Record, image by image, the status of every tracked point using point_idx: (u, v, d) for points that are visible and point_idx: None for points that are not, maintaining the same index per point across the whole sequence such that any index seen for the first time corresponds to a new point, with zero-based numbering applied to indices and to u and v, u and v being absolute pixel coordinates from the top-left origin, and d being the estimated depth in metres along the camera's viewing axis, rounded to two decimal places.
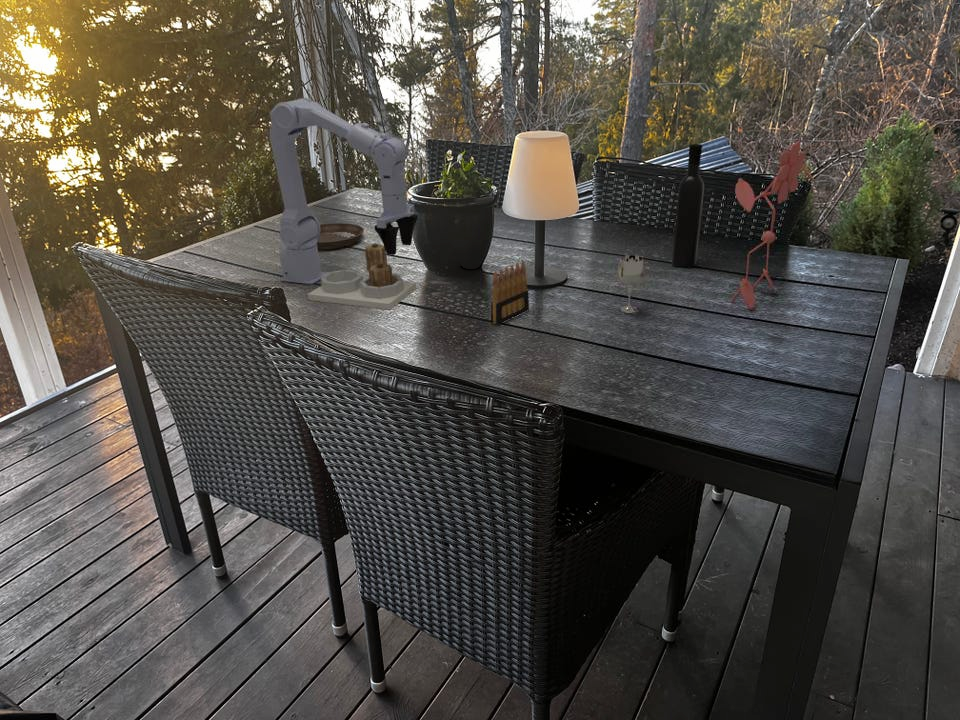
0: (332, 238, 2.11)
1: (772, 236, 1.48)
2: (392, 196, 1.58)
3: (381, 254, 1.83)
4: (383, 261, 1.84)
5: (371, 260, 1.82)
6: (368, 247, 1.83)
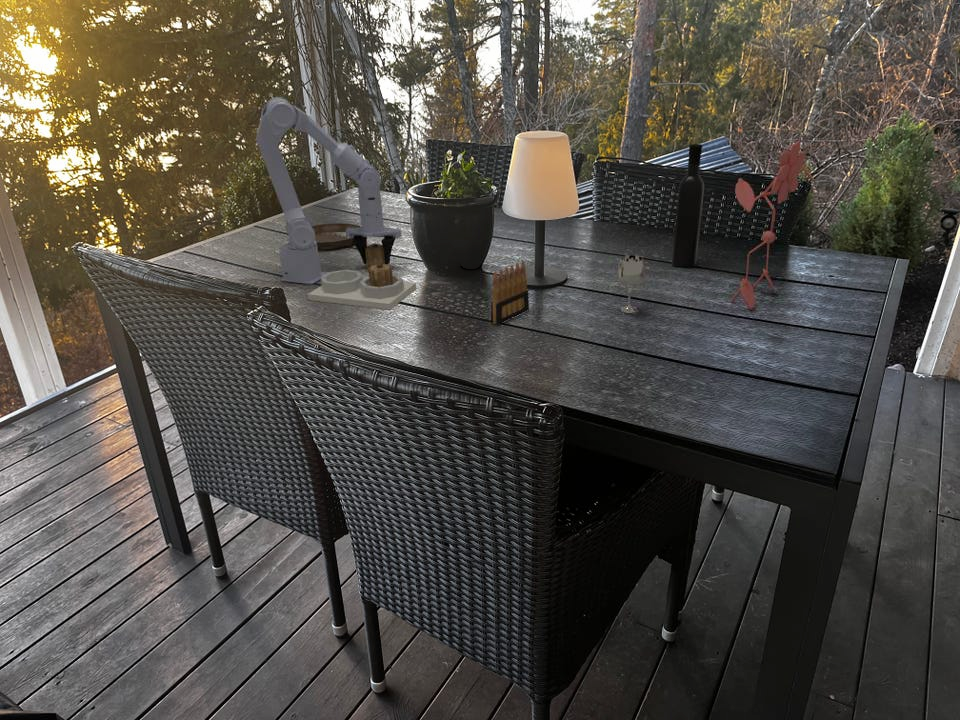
0: (332, 238, 2.11)
1: (772, 236, 1.48)
2: (360, 214, 1.79)
3: (381, 254, 1.83)
4: (383, 261, 1.84)
5: (371, 260, 1.82)
6: (368, 247, 1.83)
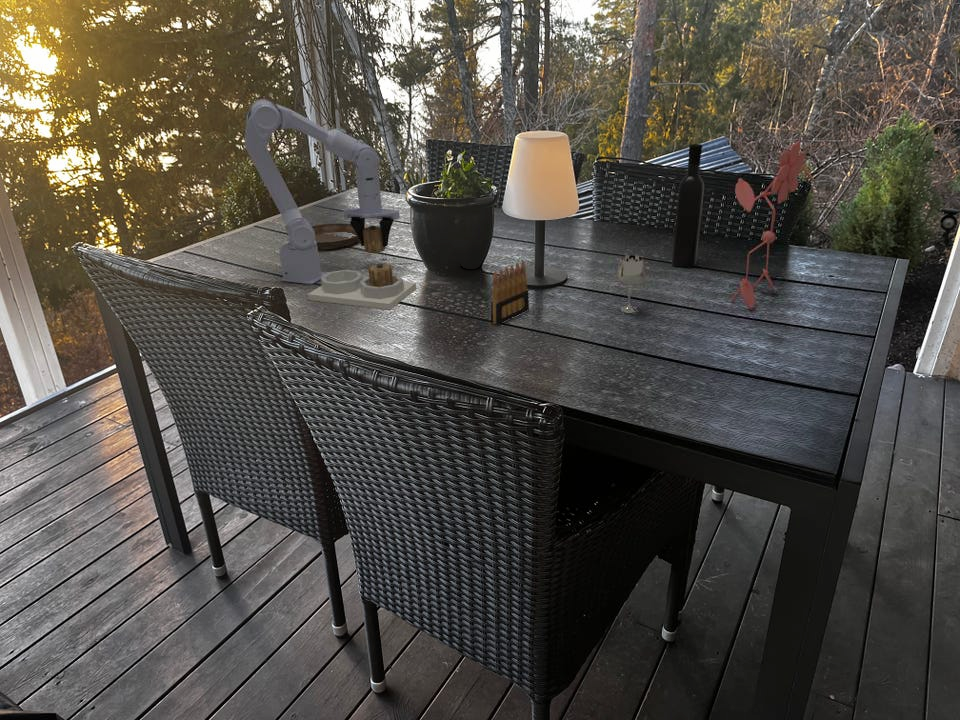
0: (332, 238, 2.11)
1: (772, 236, 1.48)
2: (358, 195, 1.76)
3: (379, 236, 1.80)
4: (381, 243, 1.81)
5: (369, 242, 1.80)
6: (366, 229, 1.80)
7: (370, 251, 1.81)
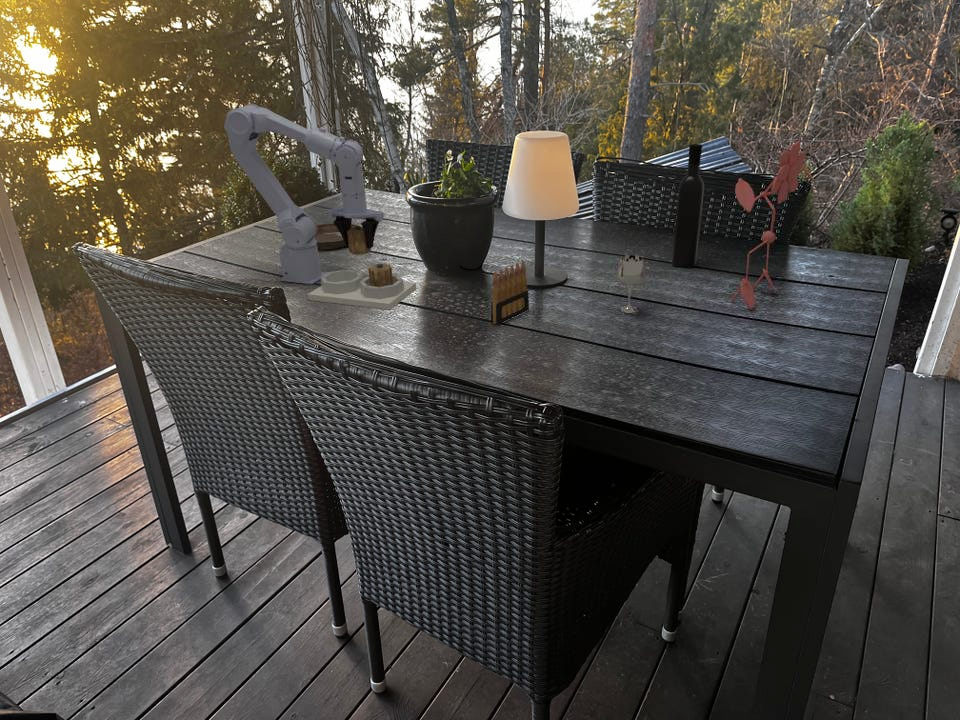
0: (332, 238, 2.11)
1: (772, 236, 1.48)
2: None
3: (363, 237, 1.73)
4: (365, 245, 1.74)
5: (352, 243, 1.73)
6: (350, 229, 1.73)
7: (353, 252, 1.74)
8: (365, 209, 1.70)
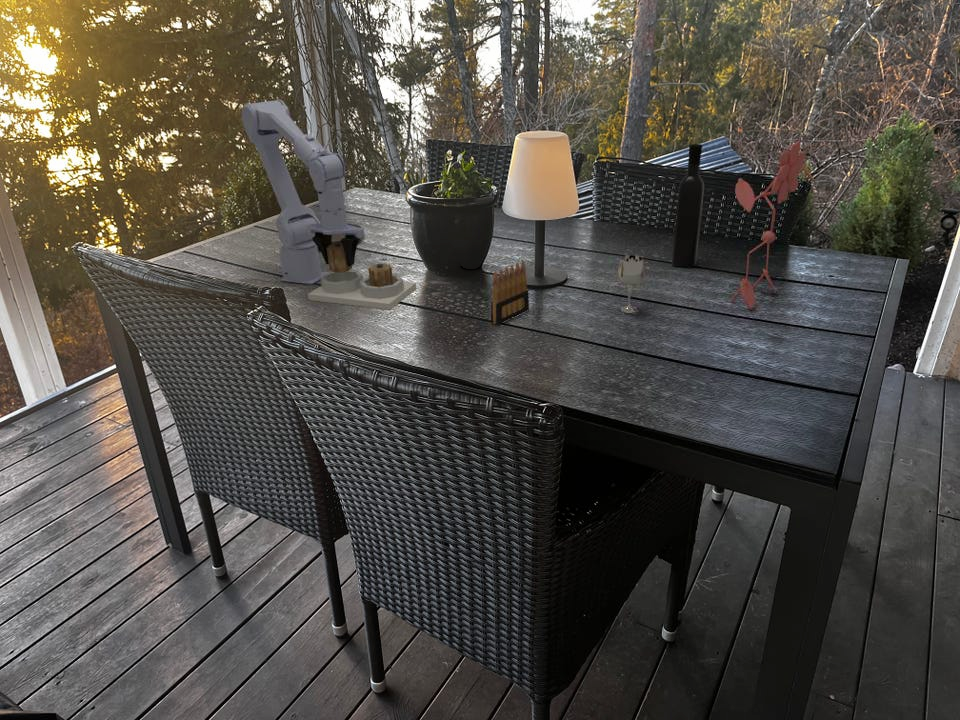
0: (332, 238, 2.11)
1: (772, 236, 1.48)
2: None
3: (343, 254, 1.65)
4: (345, 262, 1.66)
5: (331, 260, 1.65)
6: (330, 246, 1.65)
7: (333, 270, 1.66)
8: (345, 225, 1.62)
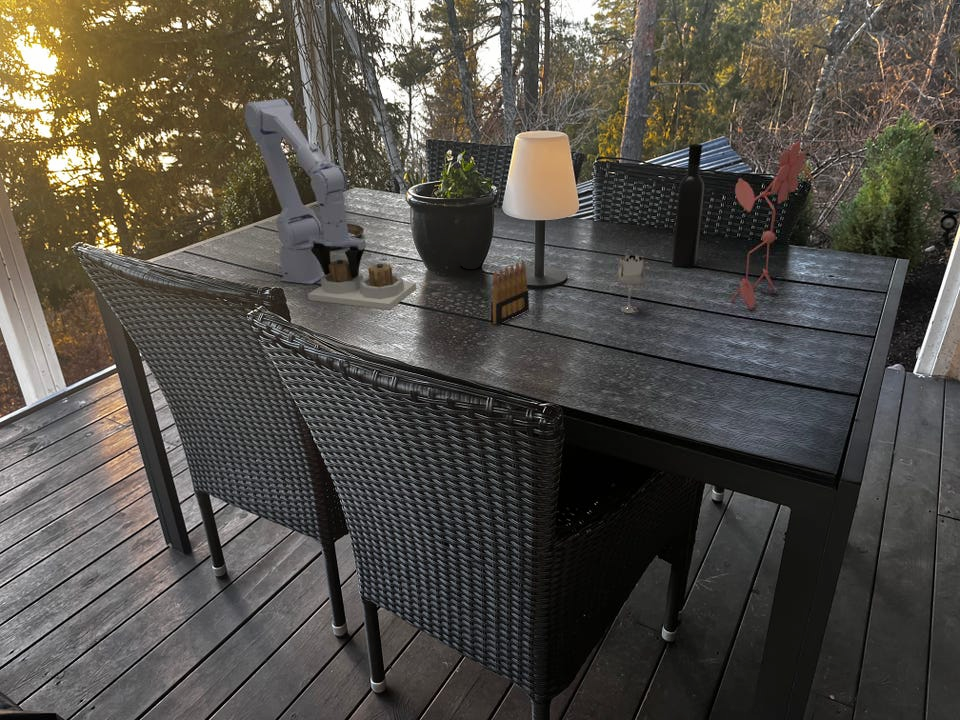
0: None
1: (772, 236, 1.48)
2: None
3: (345, 272, 1.67)
4: (347, 279, 1.68)
5: (334, 277, 1.67)
6: (332, 263, 1.67)
7: None
8: (346, 237, 1.64)
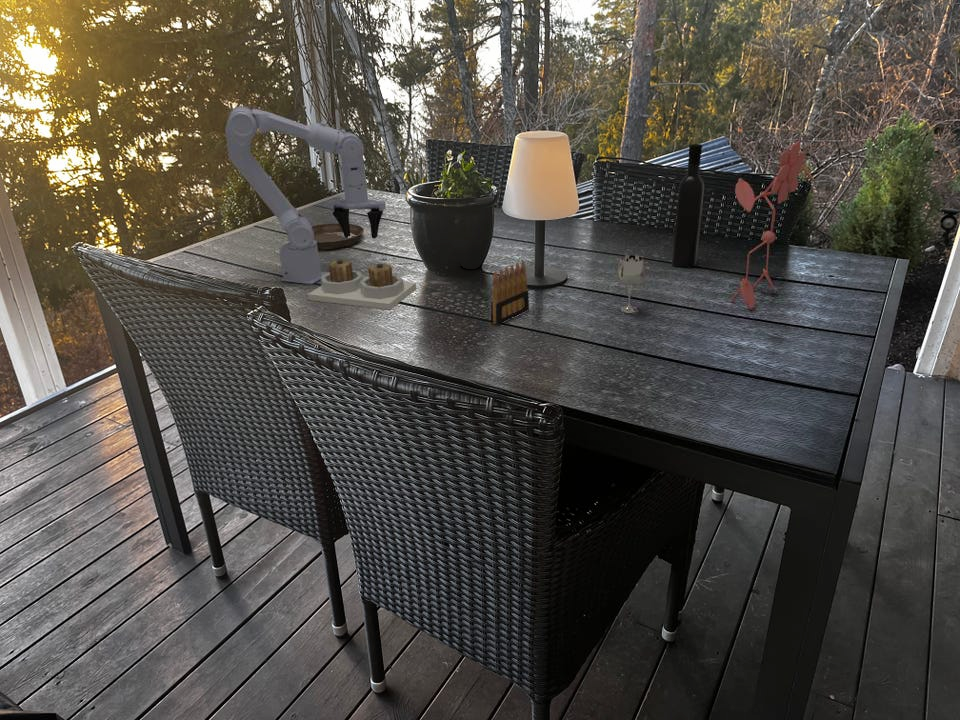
0: (332, 238, 2.11)
1: (772, 236, 1.48)
2: None
3: (345, 272, 1.67)
4: (347, 279, 1.68)
5: (334, 277, 1.67)
6: (332, 263, 1.67)
7: None
8: (367, 199, 1.75)
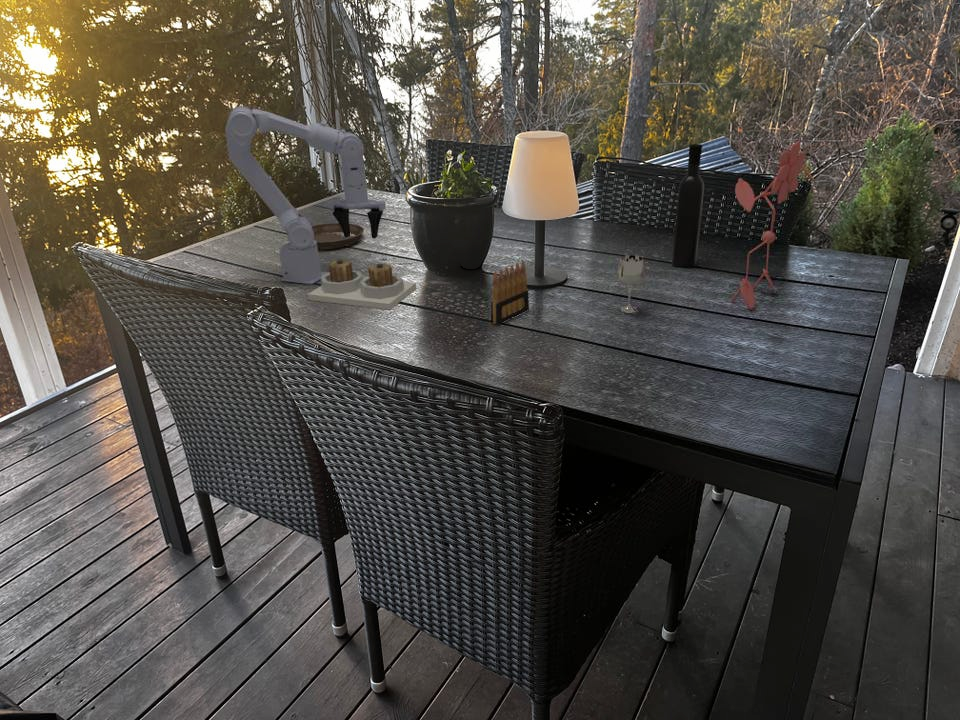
0: (332, 238, 2.11)
1: (772, 236, 1.48)
2: None
3: (345, 272, 1.67)
4: (347, 279, 1.68)
5: (334, 277, 1.67)
6: (332, 263, 1.67)
7: None
8: (367, 199, 1.75)
